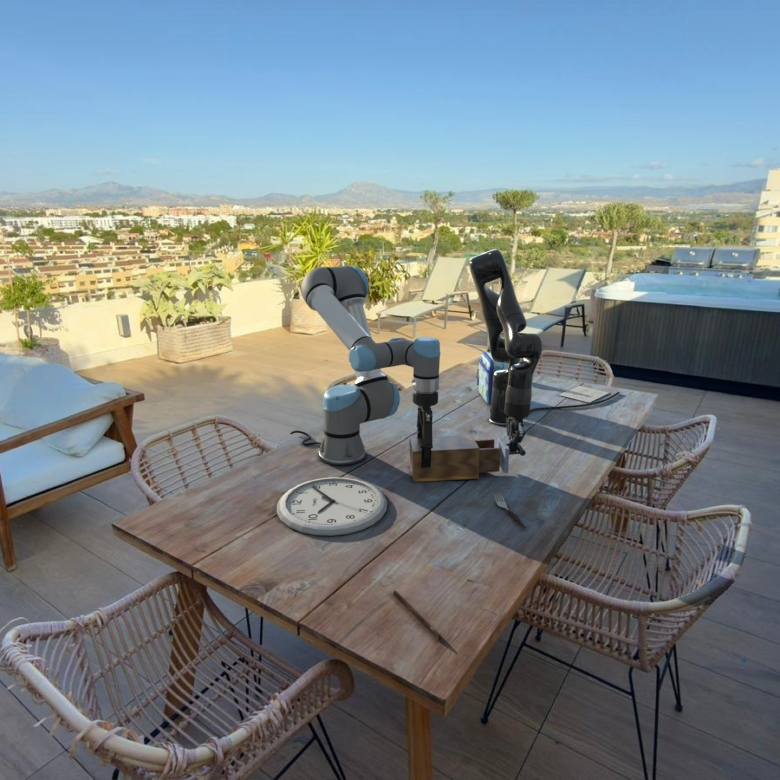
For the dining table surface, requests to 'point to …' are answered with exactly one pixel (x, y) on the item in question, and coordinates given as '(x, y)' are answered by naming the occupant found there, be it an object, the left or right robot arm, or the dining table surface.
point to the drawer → (495, 455)
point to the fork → (504, 505)
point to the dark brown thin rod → (416, 614)
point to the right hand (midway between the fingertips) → (512, 452)
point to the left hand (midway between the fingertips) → (423, 459)
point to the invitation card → (584, 394)
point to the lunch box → (488, 375)
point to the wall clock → (331, 506)
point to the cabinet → (446, 459)
